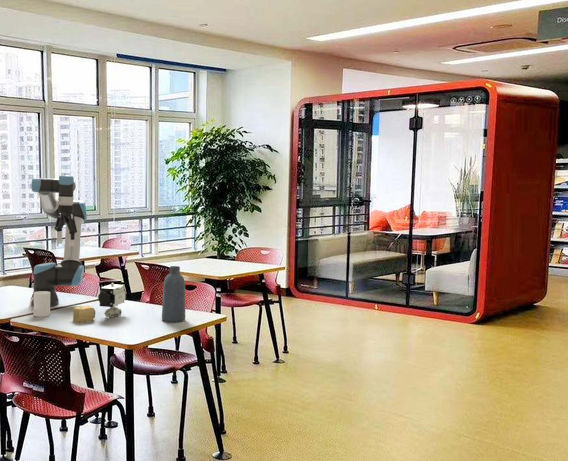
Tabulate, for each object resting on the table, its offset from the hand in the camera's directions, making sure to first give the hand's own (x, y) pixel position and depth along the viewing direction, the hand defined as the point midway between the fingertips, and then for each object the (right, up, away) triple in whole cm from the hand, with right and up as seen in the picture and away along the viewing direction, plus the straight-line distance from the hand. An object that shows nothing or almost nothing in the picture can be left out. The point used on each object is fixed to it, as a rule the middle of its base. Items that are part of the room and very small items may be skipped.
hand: (65, 244), depth 327 cm
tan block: (+14, -39, -13) cm, 43 cm away
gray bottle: (+58, -40, -4) cm, 70 cm away
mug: (-12, -37, -5) cm, 39 cm away
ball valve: (+26, -38, -1) cm, 46 cm away
